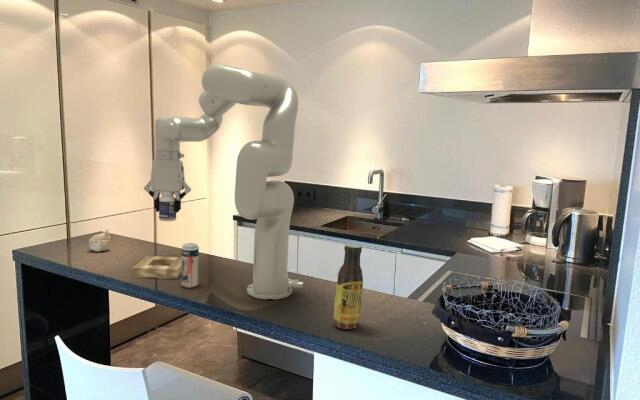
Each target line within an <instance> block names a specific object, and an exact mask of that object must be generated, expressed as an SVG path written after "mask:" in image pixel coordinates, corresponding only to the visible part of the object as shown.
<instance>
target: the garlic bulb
mask: <svg viewBox="0 0 640 400" xmlns="http://www.w3.org/2000/svg"><path fill="white" fill-rule="evenodd" d="M109 231H110V230H109V228H108V229H106V230H105V231H104V232H102V233H98V234H94V235H92V236H91V237H90V238H89V240H88V243H87V244H88V247H89V249H90V250H92V251H93V252H97V253H98V252H103V251H104V252H105V251H107V250H108V249H109V248H110V246H111V235H110V234H109V233H108V232H109Z"/></svg>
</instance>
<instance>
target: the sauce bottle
mask: <svg viewBox="0 0 640 400" xmlns="http://www.w3.org/2000/svg"><path fill="white" fill-rule="evenodd" d="M362 249H363V248H362V245H361V244H358V243H345V244H344V258H343V264H342V265H341V266H340V268H339V270H338V274H337V281H336V288H335V298H334V306H333V307H334V308H333V325H335V326H334V327H336V326H337V327H339V328H338V329H340V328H343V329H342V330H344V329H352V330H354V329H353V328H355V327H357V326H359V322H360V318H361V306H362V305H361V304H362V299H363V298H362V295H363V287H364V286H363V285H364V277H363V270H362V267H361V254H362V252H363V251H362ZM337 327H336V328H337ZM357 328H358V327H357ZM355 329H356V328H355Z"/></svg>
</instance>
